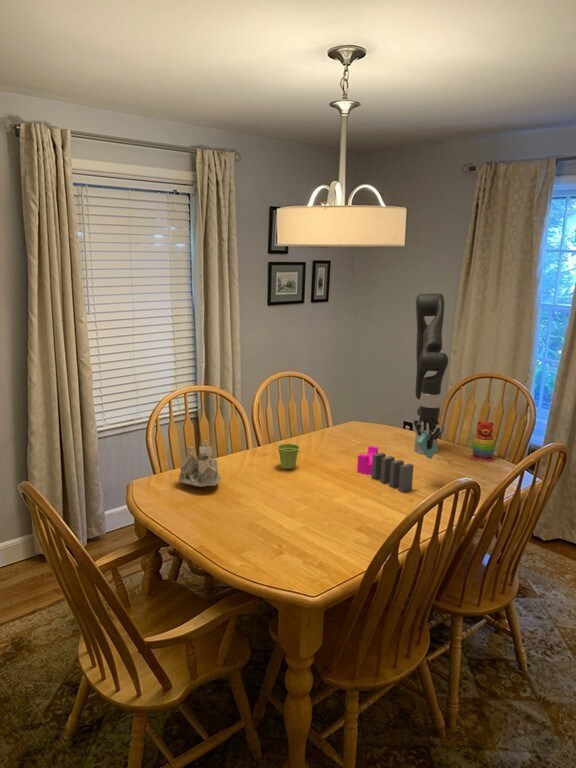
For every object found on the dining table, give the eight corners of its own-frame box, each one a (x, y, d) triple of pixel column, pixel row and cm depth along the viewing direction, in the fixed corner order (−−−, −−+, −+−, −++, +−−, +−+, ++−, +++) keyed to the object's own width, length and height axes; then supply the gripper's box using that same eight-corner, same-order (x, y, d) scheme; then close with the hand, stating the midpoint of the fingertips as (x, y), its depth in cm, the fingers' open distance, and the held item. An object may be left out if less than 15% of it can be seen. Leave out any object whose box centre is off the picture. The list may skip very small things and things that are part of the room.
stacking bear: (468, 462, 246) (472, 423, 243) (469, 455, 256) (473, 418, 252) (494, 466, 243) (498, 426, 239) (495, 459, 252) (499, 420, 248)
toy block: (371, 475, 228) (372, 458, 226) (357, 473, 231) (357, 455, 229) (382, 464, 241) (383, 448, 239) (368, 462, 244) (369, 445, 242)
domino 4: (398, 490, 212) (400, 465, 210) (407, 488, 215) (409, 463, 213) (402, 492, 211) (404, 467, 209) (411, 490, 214) (413, 465, 212)
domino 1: (371, 478, 224) (372, 454, 222) (380, 476, 227) (382, 452, 225) (374, 480, 223) (376, 455, 221) (384, 477, 225) (385, 454, 223)
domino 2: (380, 482, 220) (381, 458, 218) (389, 479, 223) (391, 456, 221) (383, 483, 219) (385, 459, 217) (393, 481, 222) (394, 457, 220)
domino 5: (427, 457, 218) (416, 441, 213) (434, 447, 220) (424, 431, 214) (431, 458, 217) (420, 442, 211) (438, 449, 218) (428, 432, 213)
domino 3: (389, 486, 216) (390, 461, 214) (398, 484, 219) (400, 459, 217) (392, 488, 215) (394, 463, 213) (402, 485, 218) (403, 461, 216)
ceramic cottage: (180, 474, 223) (179, 438, 220) (221, 474, 225) (221, 438, 222) (175, 489, 208) (174, 451, 205) (219, 489, 209) (219, 451, 206)
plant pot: (273, 468, 233) (273, 448, 231) (282, 461, 241) (282, 442, 240) (294, 471, 229) (294, 451, 228) (302, 464, 238) (303, 445, 236)
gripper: (451, 407, 208) (447, 451, 212) (423, 399, 219) (420, 441, 223) (437, 409, 204) (433, 455, 208) (409, 401, 215) (406, 445, 219)
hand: (426, 448), depth 216 cm, fingers closed on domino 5
